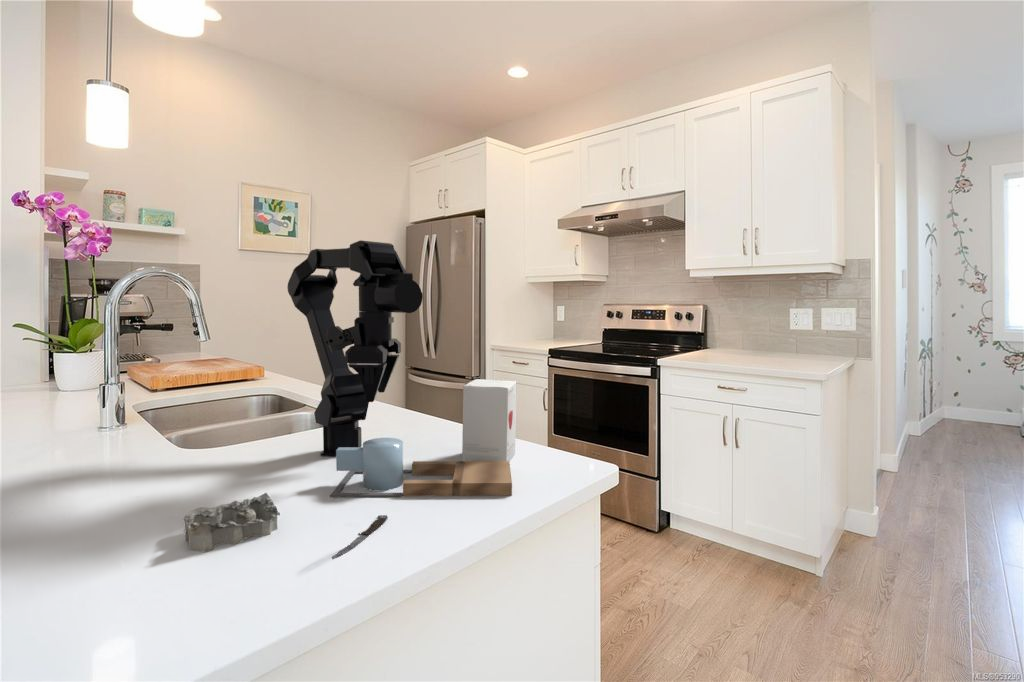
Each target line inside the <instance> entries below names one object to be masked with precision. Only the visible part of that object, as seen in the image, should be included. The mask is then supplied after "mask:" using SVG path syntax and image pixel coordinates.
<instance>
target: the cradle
mask: <svg viewBox="0 0 1024 682" xmlns="http://www.w3.org/2000/svg"><path fill="white" fill-rule="evenodd" d="M510 463H511V462H510V461H462V460H461V461H457V460H456V461H455V460H454V461H453V460H452V461H451V460H449V461H448V460H447V461H445V460H444V461H442V460H441V461H440V460H439V461H438V460H437V461H436V460H435V461H433V460H432V461H429V460H428V461H427V460H426V461H425V460H424V461H421V460H419V461H415V460H413V461H412V463H411V470H412V473H411V475H412V476H453V478H452V479H403V484H402V496H403V497H405V496H407V497H410V496H418V497H420V496H422V495H423V496H426V495H428V496H430V495H435V496H512V494H513V480H512V471H511V464H510Z"/></svg>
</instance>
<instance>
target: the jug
mask: <svg viewBox="0 0 1024 682" xmlns="http://www.w3.org/2000/svg"><path fill="white" fill-rule="evenodd" d="M403 452H404V441H403V440H402V439H400V438H396V437H377V438H372V439H368V440H366V441H364V442H363V443H362V446H361V447H339V448H338V449H337V450H336V456H335V457H336V458H335V461H336V462H335V463H336V464H335V465H336V466H335V467H336V470H335V471H336V472H338V471H340V472H341V471H342V472H345V471H346V472H349V471H363V473H362V485H363V488H364V487H365V489H366V488H367V489H366V490H369V489H371V490H370V491H374V490H384V491H390V490H389V489H391V490H395V489H397V488H399V487H401V486H403V482H404V473H403V470H404V453H403ZM394 488H395V489H394Z"/></svg>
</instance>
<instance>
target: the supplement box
mask: <svg viewBox="0 0 1024 682" xmlns="http://www.w3.org/2000/svg"><path fill="white" fill-rule="evenodd" d="M516 415H517V381H516V380H506V379H505V380H498V379H497V380H496V379H483V378H481V379H479V378H475V379H473V380H472V381H469V382H468V383H466V384H464V385H463V387H462V440H461V441H462V444H461V446H462V447H461V448H462V451H461V452H462V454H461V455H462V457H461V459H462V460H461V461H509V462H510V461H511V460H512V458H513V457H514V456H515V454H516V432H517V431H516V427H517V426H516V424H517V423H516V422H517V421H516V419H517V417H516Z"/></svg>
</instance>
